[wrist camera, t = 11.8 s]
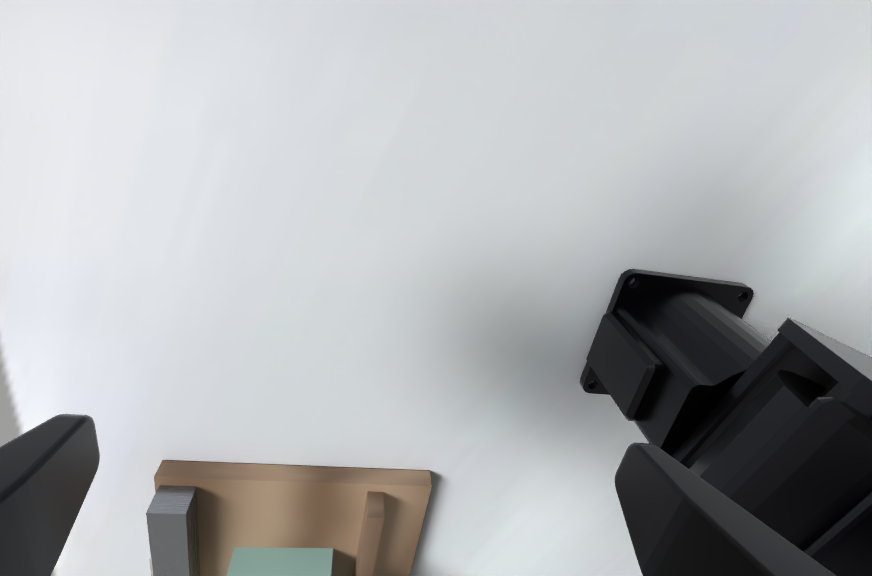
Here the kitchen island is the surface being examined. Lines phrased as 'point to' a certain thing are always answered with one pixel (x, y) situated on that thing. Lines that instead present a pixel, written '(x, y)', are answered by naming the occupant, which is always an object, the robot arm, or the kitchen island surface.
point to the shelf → (306, 512)
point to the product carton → (280, 562)
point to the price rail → (174, 531)
